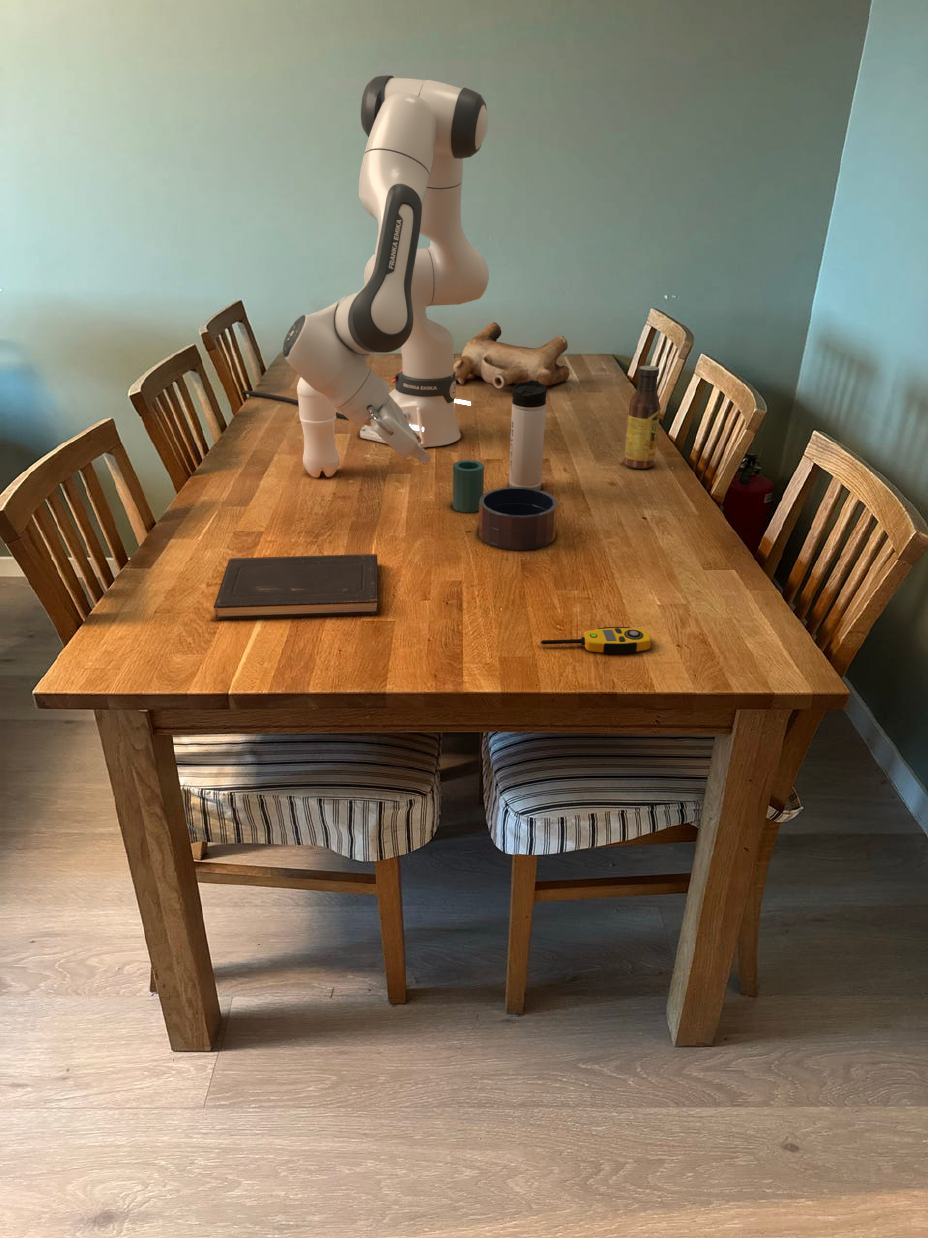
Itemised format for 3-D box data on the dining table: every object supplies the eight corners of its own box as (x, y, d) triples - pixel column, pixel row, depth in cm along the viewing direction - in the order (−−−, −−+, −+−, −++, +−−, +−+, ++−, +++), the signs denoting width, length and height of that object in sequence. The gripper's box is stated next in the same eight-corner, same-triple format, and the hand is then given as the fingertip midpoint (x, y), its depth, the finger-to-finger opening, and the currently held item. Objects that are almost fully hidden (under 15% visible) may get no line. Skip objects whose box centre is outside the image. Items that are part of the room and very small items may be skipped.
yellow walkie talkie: (654, 641, 117) (543, 644, 116) (653, 653, 118) (542, 656, 117) (645, 623, 121) (538, 625, 120) (644, 635, 122) (537, 637, 121)
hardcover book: (377, 614, 127) (377, 600, 125) (215, 620, 125) (213, 606, 124) (377, 565, 140) (377, 552, 139) (231, 569, 139) (229, 556, 137)
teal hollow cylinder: (448, 510, 160) (448, 468, 156) (459, 499, 164) (459, 458, 160) (476, 514, 158) (477, 472, 154) (487, 503, 163) (488, 462, 159)
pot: (467, 542, 148) (468, 509, 145) (493, 513, 159) (494, 482, 156) (543, 555, 144) (545, 522, 141) (563, 525, 155) (566, 493, 152)
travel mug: (545, 483, 172) (551, 381, 162) (536, 495, 166) (542, 390, 156) (514, 479, 173) (518, 378, 163) (504, 491, 168) (508, 387, 158)
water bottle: (346, 470, 177) (339, 343, 164) (327, 482, 171) (318, 351, 159) (316, 464, 179) (307, 339, 167) (296, 476, 174) (285, 347, 161)
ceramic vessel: (483, 312, 243) (427, 339, 227) (579, 337, 229) (527, 368, 213) (482, 357, 251) (428, 386, 235) (575, 384, 237) (524, 417, 221)
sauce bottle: (653, 471, 178) (665, 373, 168) (622, 468, 179) (632, 371, 169) (653, 460, 184) (665, 364, 174) (623, 458, 185) (633, 362, 175)
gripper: (386, 402, 138) (447, 458, 145) (370, 369, 155) (425, 420, 162) (359, 431, 139) (420, 485, 146) (346, 396, 157) (402, 445, 163)
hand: (423, 451), depth 154 cm, fingers open, 8 cm apart
